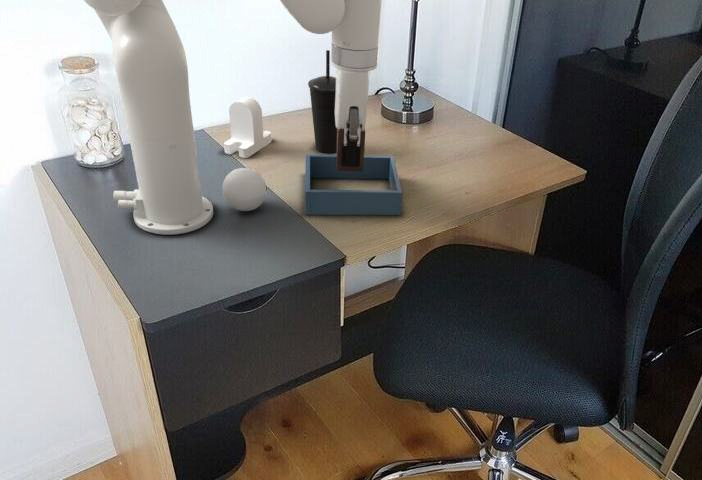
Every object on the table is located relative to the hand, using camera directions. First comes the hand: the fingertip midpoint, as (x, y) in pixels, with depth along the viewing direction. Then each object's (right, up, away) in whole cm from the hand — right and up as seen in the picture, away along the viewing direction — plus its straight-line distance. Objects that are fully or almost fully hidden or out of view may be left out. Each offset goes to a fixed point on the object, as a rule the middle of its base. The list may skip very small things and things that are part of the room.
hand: (349, 158), depth 115 cm
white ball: (-18, -9, -1) cm, 20 cm away
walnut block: (0, -1, +1) cm, 1 cm away
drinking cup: (-6, +6, +20) cm, 22 cm away
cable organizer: (-22, +6, +18) cm, 29 cm away
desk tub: (0, -6, +4) cm, 7 cm away
